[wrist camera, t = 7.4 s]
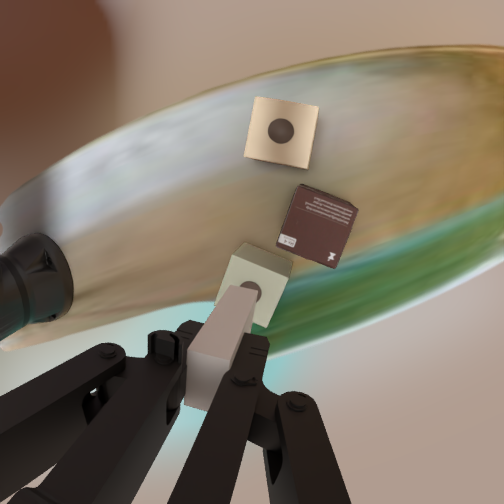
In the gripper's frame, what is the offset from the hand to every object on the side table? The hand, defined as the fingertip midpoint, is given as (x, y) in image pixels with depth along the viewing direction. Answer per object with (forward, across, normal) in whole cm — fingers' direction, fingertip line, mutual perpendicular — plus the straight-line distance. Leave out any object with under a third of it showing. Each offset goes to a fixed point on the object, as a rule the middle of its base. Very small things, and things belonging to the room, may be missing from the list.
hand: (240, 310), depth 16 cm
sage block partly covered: (+20, -1, -5) cm, 21 cm away
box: (+20, +4, +3) cm, 21 cm away
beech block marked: (+20, -1, +11) cm, 23 cm away
